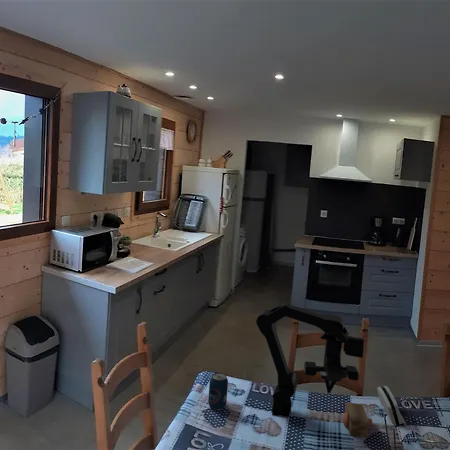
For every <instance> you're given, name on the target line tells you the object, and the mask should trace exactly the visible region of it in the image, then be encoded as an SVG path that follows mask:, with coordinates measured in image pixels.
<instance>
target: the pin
mask: <svg viewBox="0 0 450 450" xmlns="http://www.w3.org/2000/svg"><path fill="white" fill-rule="evenodd" d="M342 419H343V425H344V426H345V427H348V423H349V415H348V413H345V412H344V413H343V417H342ZM368 420H369V422H370V424H369V427H370V426H373V418H370V417H368Z"/></svg>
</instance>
